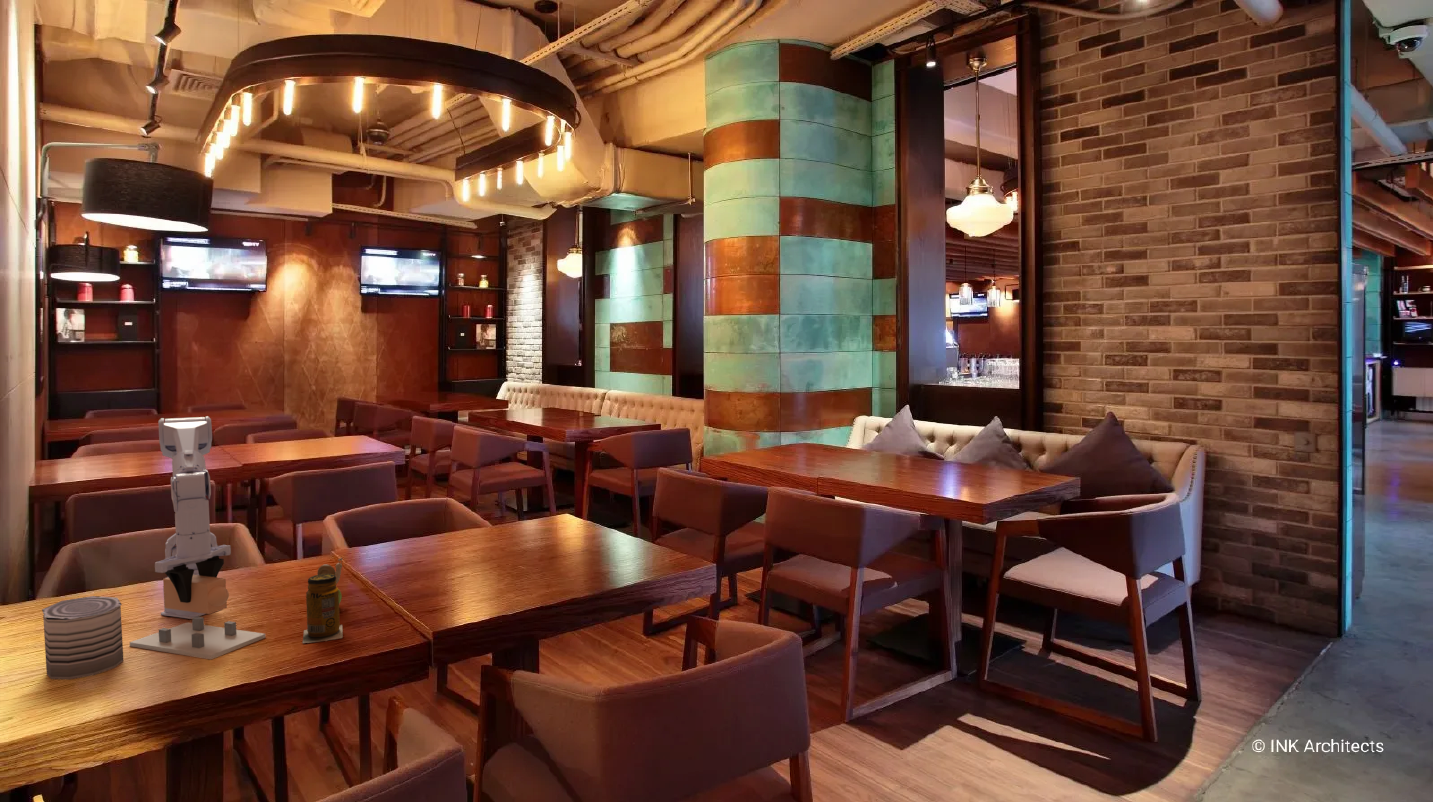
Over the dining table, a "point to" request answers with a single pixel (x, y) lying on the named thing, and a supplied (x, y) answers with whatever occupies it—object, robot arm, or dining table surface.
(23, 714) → the dining table surface
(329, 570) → the snail figurine
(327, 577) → the condiment
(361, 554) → the dining table surface
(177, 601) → the block
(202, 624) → the cradle jig
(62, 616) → the can
